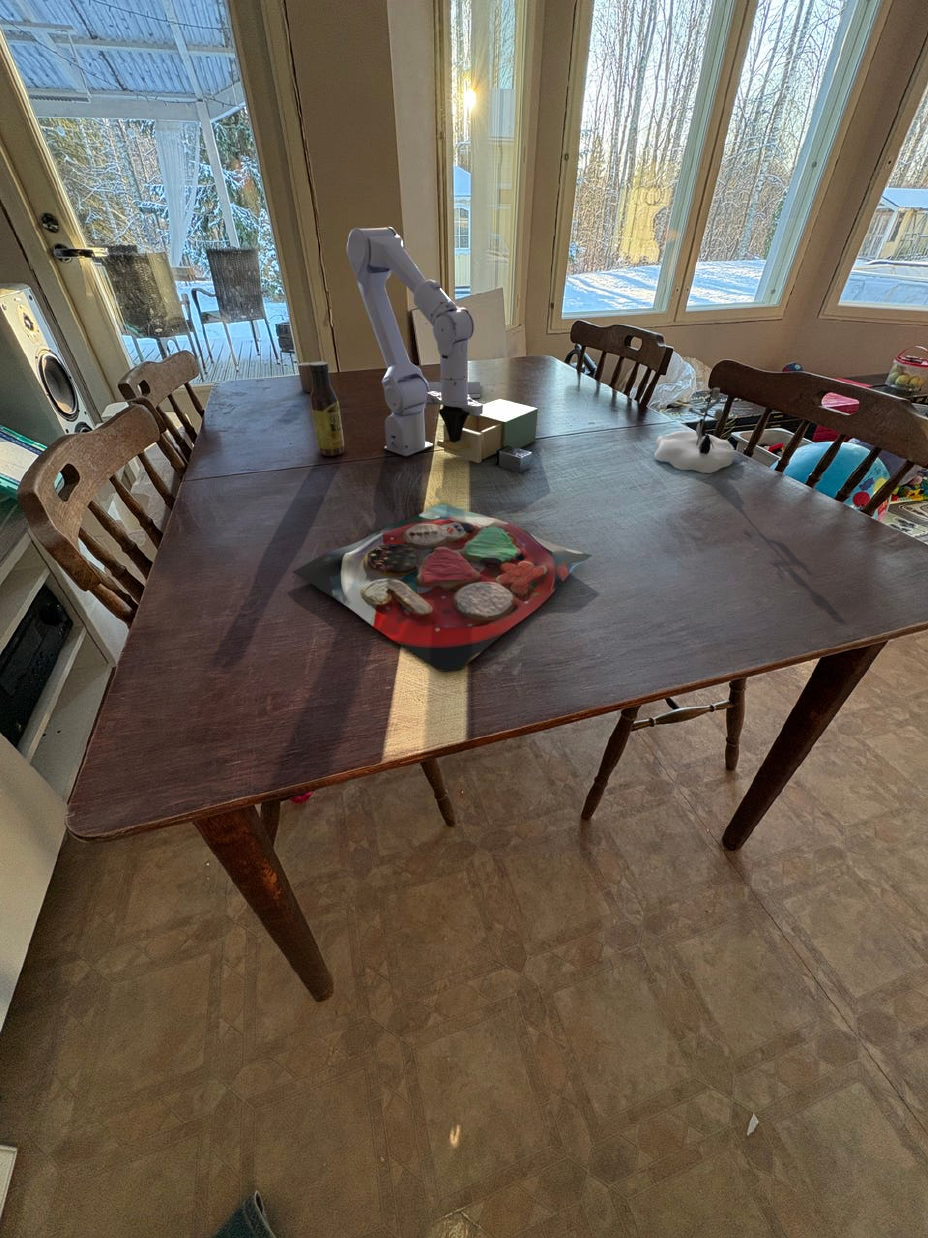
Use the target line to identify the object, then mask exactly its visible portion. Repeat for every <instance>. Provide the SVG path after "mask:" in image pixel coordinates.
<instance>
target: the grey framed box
mask: <svg viewBox="0 0 928 1238" xmlns="http://www.w3.org/2000/svg"><path fill="white" fill-rule="evenodd" d="M532 455H533V453H532V452H531V451H529V450H525V449H521V448H519V449H518V448H515V447H512V446H509V445H507V446H505V447H503V448H500V449H498V450H496V453H495V465H496V466H497V467H498V466H499V467H500V468H504V469H507V470H509V471H513V472H515V473H519V474H521V473H522V472H525V471H526V470H529V469H530V468H531V467H532Z"/></svg>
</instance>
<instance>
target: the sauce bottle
mask: <svg viewBox="0 0 928 1238" xmlns="http://www.w3.org/2000/svg"><path fill="white" fill-rule="evenodd" d="M309 363H310V364H309V367H310V371H311V374H312V380H313V385H314V386H313V389H312V392H311V393H310V397H309V398H310V405H311V415H312V419H313V424H314V425H313V426H314V431H315V437H316V442H317V447H318V449H319V453H320V455H322V456H325V457H335V456H340V455H342V454H343V453H344V452H345V439H344V432H343V426H342V418H341V411H340V404H339V399H338V397H337V395H336V393H335V391H334V389H333V386H332V384H331V381H330V374H329V364H328V362H326V361H313V362H309Z"/></svg>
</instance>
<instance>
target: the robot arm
mask: <svg viewBox="0 0 928 1238" xmlns="http://www.w3.org/2000/svg"><path fill="white" fill-rule="evenodd" d="M346 254H347V257H348V260H349V263H350V266H351V269H352V271H353V274H354V277H355V281H356V282H357V285H358V289H359V292H360V295H361V297H362V301H363V304H364V306H365V309H366V312H367V315H368V319H369V321H370V324H371V326H372V330H373V332H374V334H375V337H376V341H377V344H378V346H379V350H380V353H381V355H382V357H383V360H384V363H385V366H386V369H387V370H386V372H385V374H384V376H383V378H382V380H381V384H382V387H383V394H384V400H385V401H384V402H385V404H386V405H387V407H388V409H390V412H391V414H390V415H388V416H387V417H386V418H385V419H384V434H385V444H386V445H385V446H384V450H386V451H390V452H392V453H396V454H398V455H401V456H403V457H409V456H412V455H414V454H416V453H419V452H421V451H423V450H426V449H428V448H431V447H433V446H434V443H432V442H429V441H426V427H425V409H426V408H427V403H432V404H433V403H435V404H439V405H442V408H440V409H438V414H439V415H440V417H441V419H442V421H443V424H445V425H446V428H447V432H448V435H449V439H450V441H451V442H454V443H455V442H457V441H460V438H461V433H462V430H463V426H464V424H465V421H466V419H467V417H468V415H469V413H474V415H476V416H478V415H480V414H483V403H481V402H478V401H476V400H474V399H473V398H469V395H468V382H469V340H471V338H472V337H473V335H474V330H475V323H474V319H473V316H472V315H471V313H470V311H469V310H468V309H467V308H465V307H459V306H458V305H456V303H455V302H454V301H453V300H451V299H450V297H449V296H448V295H447V294H446V293H445V291H444V290H443V289H442V285H441V284H440V282H439V281H438V280H437V281H436V280H434V279H426V278H425V276H424V275H423V274H422V272H421V271H420V270H419V267H417V265H416V264H415V262H414V261H413V260H412V258H411V257H410V255H409V254H408V252H407V251H406V249H405V248H404V241H403V238H402V237H401V236H400V235H398V232H397V231H396V229H394V228H393V227H391V226H385V227H372V228H360V227H354V228H352V229H351V230H350V232H349V234H348V238H347V244H346ZM392 273H393V274H394V275H395V276H396V277H397V278H398V279H399V280H400V281H401V283H403V284H404V285H405V286H406V288H408V289H409V291H410V292H412V294H413V303H414V305H415V307H417V309H418V310H419V311H420V312H421V314H422V315H423V316H424V318H425V319H426V320H427V321H428V322H429V323H430V325H431V326H432V333H433V337H434V339H435V341H436V345H437V351H438V354H439V367H440V382H441V392H435V391H433V392H430V388H429V385H428V383H427V382H428V381H427V380H426V378H425V377H424V375H423V373H422V370H421V368H420V367H418V366H417V365H415V364H414V363H412V362H411V361H410V358H409V355H408V352H407V349H406V347H405V344H404V340H403V337H402V334H401V330H400V329H399V325H398V322H397V320H396V315H395V314H394V310H393V307H392V305H391V301H390V298H389V296H388V293H387V289H386V282H387V281H388V279H390V277H391V275H392Z"/></svg>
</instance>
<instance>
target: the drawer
mask: <svg viewBox="0 0 928 1238" xmlns="http://www.w3.org/2000/svg"><path fill="white" fill-rule="evenodd" d="M503 428H504V424H503V423H500V422H496V421H493V420H489V419H485V418H482V417H478V416H475V415H469V416H468V417H467V419H466V421H465V424H464V426H463V430H462V433H461V438H460V441H457V442H455V443H454V442H451V441H450V439H449V435H448V432H447V428H446V425H445V423H443V424H442V430H443V431H442V432H443V440H441V439H438V440H437V442H436V446H437V447H440V448H443V452H444V453H447V454H450V455H453V456H456V457H459V458H461V459H465V460H467V461H471V462H473V463H477V464H479V463H482V460H485V459H486V458H489V457H491V456H493V455H496V450H498V449H500V448H503Z"/></svg>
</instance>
